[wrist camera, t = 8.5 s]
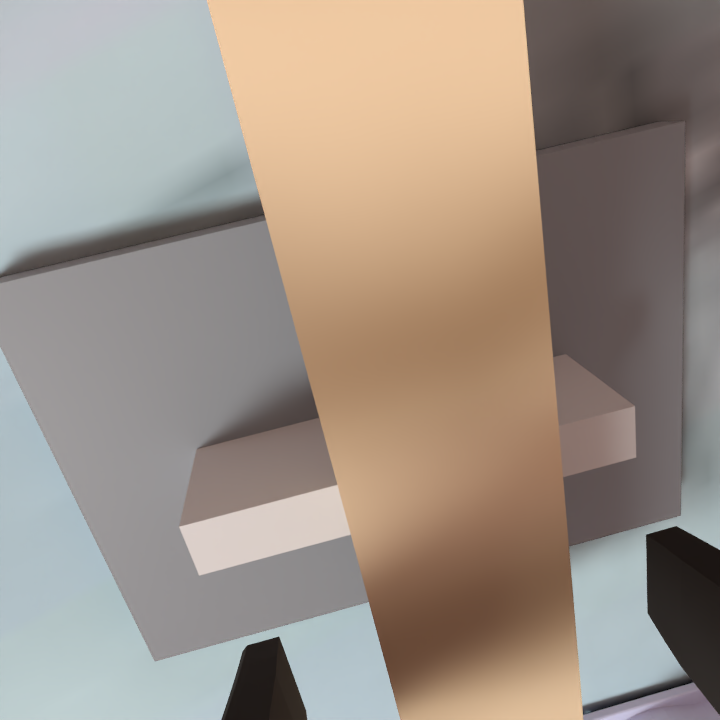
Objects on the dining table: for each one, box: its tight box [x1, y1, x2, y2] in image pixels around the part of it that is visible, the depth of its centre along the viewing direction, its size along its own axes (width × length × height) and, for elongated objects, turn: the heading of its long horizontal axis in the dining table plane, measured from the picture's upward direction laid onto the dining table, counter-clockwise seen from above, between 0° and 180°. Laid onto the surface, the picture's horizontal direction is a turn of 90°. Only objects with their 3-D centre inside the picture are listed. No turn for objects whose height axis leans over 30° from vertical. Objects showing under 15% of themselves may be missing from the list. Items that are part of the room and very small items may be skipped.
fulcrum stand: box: [0, 121, 686, 661], centre depth 17 cm, size 20×14×5 cm
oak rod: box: [207, 0, 583, 720], centre depth 13 cm, size 22×4×5 cm, turn 12°
